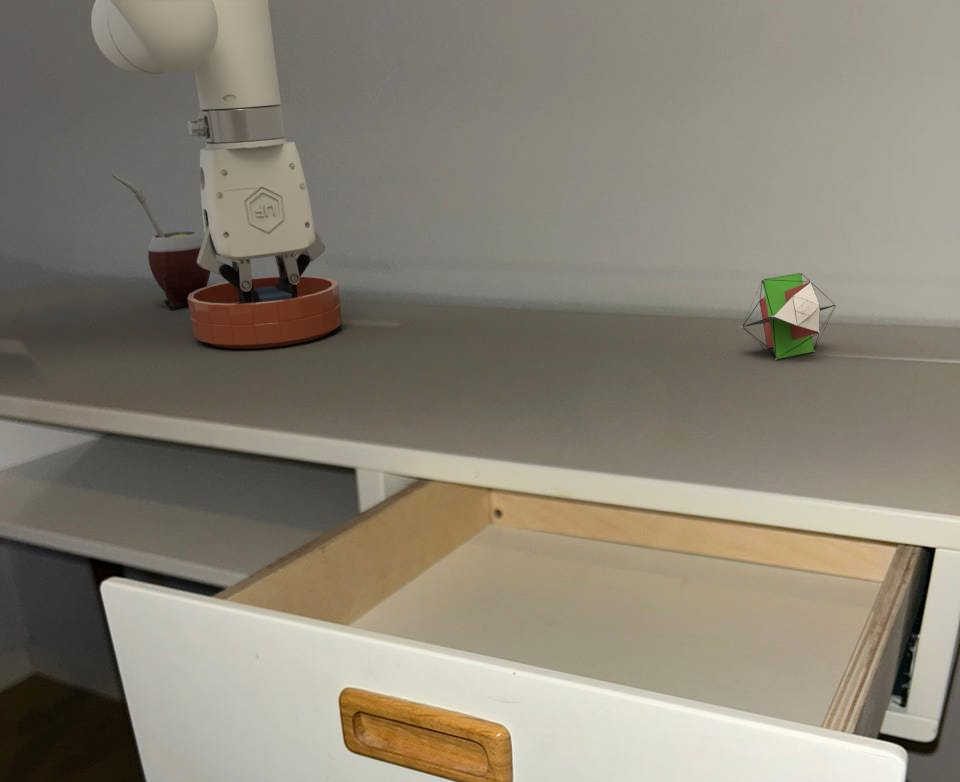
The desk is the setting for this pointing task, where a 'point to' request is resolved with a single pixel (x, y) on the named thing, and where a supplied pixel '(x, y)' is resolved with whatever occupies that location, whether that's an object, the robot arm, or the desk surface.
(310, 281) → the bowl
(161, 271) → the mate gourd
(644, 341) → the desk surface
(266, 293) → the blue rectangular block
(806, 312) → the geometric puzzle
